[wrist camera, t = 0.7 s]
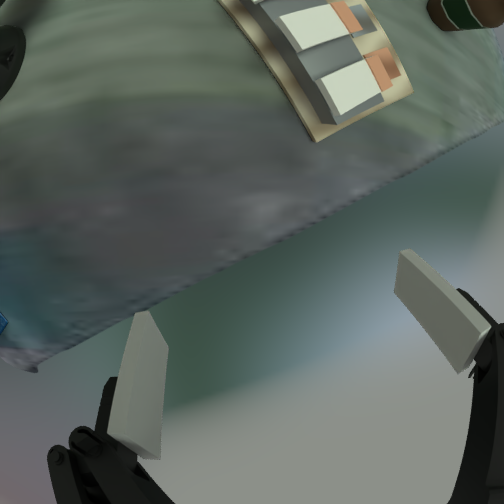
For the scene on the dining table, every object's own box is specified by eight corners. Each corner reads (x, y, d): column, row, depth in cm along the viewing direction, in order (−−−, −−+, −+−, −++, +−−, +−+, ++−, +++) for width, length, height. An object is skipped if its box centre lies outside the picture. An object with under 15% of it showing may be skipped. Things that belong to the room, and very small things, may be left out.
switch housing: (228, -12, 22) (231, -28, 17) (278, -29, 21) (287, -45, 16) (321, 123, 33) (337, 125, 29) (365, 101, 32) (384, 101, 27)
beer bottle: (428, 23, 26) (531, 13, 5) (422, -7, 22) (516, -27, 1) (454, 38, 26) (550, 39, 5) (449, 8, 23) (538, 1, 2)
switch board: (208, -11, 23) (207, -16, 21) (321, -45, 20) (326, -49, 18) (313, 141, 35) (317, 142, 34) (408, 92, 32) (415, 92, 31)
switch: (309, 82, 24) (322, 78, 22) (364, 58, 25) (377, 54, 23) (328, 116, 26) (342, 115, 24) (379, 87, 27) (393, 85, 25)
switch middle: (270, 24, 20) (280, 15, 18) (332, 7, 21) (344, 0, 19) (292, 55, 22) (304, 48, 20) (350, 34, 23) (363, 29, 21)
